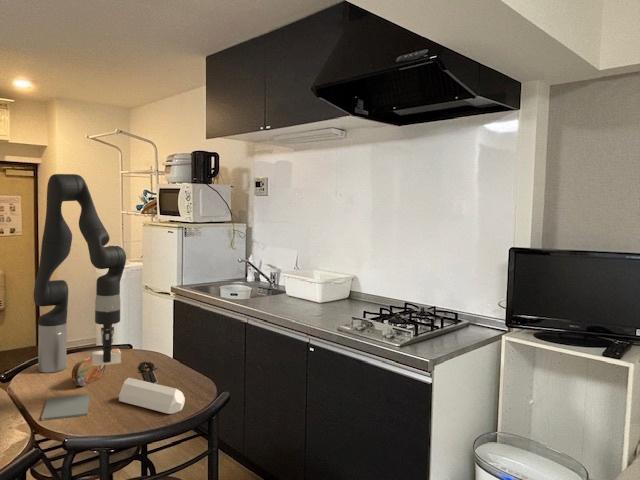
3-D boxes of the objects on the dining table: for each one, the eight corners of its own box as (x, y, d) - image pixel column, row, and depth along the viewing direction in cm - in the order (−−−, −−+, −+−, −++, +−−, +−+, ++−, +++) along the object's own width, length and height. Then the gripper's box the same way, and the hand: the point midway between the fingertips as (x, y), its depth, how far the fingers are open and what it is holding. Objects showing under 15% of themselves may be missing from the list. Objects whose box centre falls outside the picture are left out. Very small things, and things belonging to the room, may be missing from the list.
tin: (77, 389, 166) (78, 365, 165) (69, 388, 166) (69, 364, 166) (105, 375, 180) (106, 352, 180) (98, 374, 181) (98, 352, 180)
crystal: (109, 391, 155) (169, 406, 145) (124, 374, 161) (183, 388, 151) (118, 407, 159) (177, 423, 149) (133, 390, 165) (190, 404, 155)
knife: (158, 386, 173) (158, 382, 173) (138, 387, 170) (138, 383, 170) (155, 364, 196) (155, 360, 196) (138, 365, 194) (138, 361, 194)
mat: (47, 399, 156) (47, 398, 156) (89, 395, 161) (89, 393, 161) (41, 420, 141) (41, 418, 141) (87, 415, 146) (87, 413, 146)
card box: (92, 362, 161) (92, 350, 161) (118, 359, 165) (118, 348, 165) (93, 366, 157) (94, 354, 157) (120, 363, 161) (120, 351, 161)
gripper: (95, 304, 165) (95, 354, 166) (94, 313, 152) (93, 367, 153) (120, 303, 168) (119, 352, 169) (120, 312, 155) (119, 365, 156)
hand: (107, 359), depth 161 cm, fingers closed on card box, 5 cm apart
